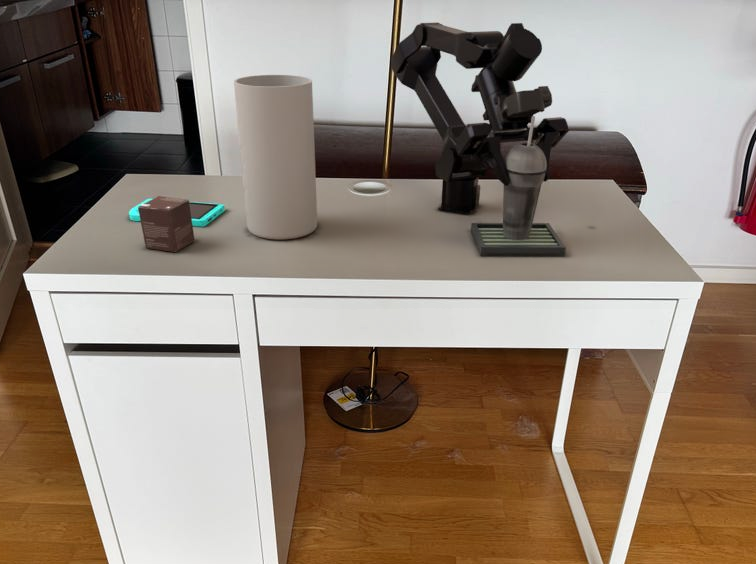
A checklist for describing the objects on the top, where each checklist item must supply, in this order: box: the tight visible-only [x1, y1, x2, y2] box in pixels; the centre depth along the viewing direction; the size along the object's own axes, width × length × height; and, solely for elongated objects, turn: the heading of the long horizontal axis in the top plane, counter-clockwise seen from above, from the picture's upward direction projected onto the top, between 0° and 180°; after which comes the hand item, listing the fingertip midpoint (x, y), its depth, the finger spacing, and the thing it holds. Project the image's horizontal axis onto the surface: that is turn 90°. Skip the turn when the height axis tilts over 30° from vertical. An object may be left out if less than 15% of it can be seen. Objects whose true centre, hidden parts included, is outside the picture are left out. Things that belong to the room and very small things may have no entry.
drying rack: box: [470, 222, 567, 257], centre depth 118 cm, size 14×12×2 cm
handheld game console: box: [128, 198, 226, 228], centre depth 129 cm, size 10×16×1 cm, turn 78°
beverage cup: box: [502, 115, 547, 240], centre depth 113 cm, size 7×7×20 cm
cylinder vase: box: [233, 74, 318, 241], centre depth 117 cm, size 12×12×25 cm
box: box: [138, 195, 196, 253], centre depth 114 cm, size 6×6×7 cm
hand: (527, 182), depth 112 cm, fingers closed on beverage cup, 7 cm apart
